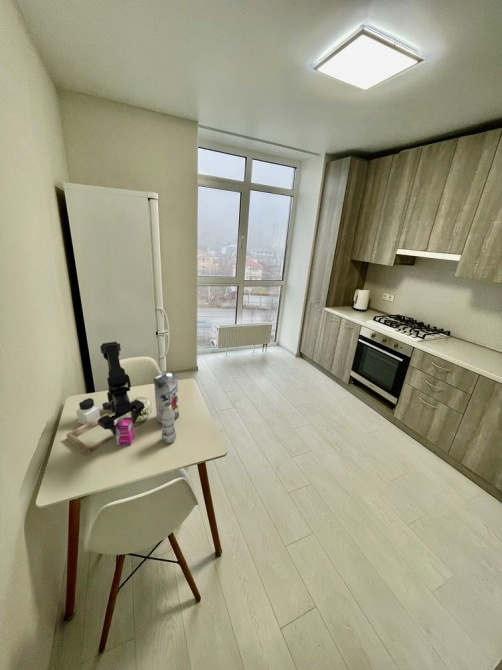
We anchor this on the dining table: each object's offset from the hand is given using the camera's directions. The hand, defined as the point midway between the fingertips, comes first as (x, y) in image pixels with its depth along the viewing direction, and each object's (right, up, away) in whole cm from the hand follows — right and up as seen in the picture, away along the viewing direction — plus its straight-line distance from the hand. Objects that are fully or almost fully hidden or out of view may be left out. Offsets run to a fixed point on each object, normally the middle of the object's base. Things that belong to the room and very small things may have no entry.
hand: (124, 429), depth 118 cm
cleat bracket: (-15, -5, +6) cm, 16 cm away
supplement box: (0, -7, +2) cm, 7 cm away
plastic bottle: (+19, -7, +5) cm, 21 cm away
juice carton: (+14, -2, +19) cm, 23 cm away
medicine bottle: (-24, -1, +14) cm, 28 cm away
